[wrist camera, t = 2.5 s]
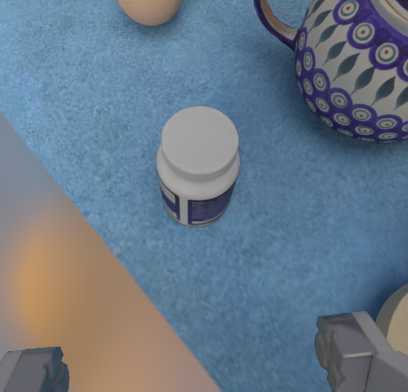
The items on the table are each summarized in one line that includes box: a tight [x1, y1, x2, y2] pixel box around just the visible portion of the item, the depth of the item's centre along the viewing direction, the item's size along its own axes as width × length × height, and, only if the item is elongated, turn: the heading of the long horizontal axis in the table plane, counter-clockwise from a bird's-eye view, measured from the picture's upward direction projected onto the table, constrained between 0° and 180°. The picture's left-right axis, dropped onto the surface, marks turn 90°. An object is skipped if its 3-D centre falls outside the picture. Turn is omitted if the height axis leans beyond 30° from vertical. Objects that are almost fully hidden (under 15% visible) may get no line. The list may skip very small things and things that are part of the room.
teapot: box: [254, 0, 408, 143], centre depth 28 cm, size 25×15×15 cm, turn 60°
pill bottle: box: [156, 106, 240, 227], centre depth 25 cm, size 6×6×10 cm
